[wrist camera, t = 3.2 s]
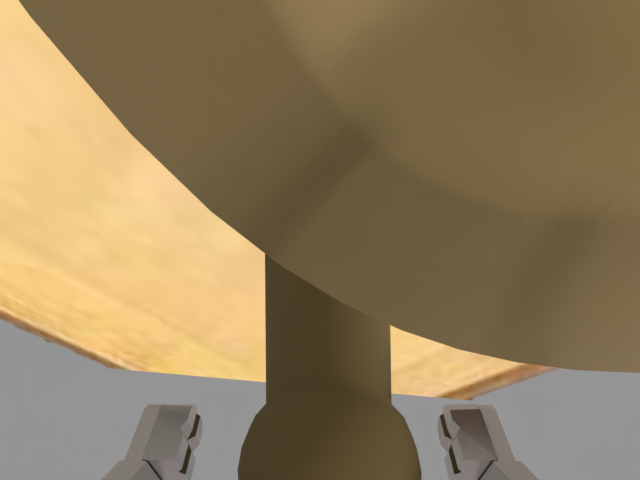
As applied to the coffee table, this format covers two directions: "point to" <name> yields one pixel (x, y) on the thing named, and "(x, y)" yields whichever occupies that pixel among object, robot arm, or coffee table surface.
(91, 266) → the coffee table surface
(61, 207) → the coffee table surface
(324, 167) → the balance
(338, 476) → the olive brown pawn
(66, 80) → the coffee table surface
